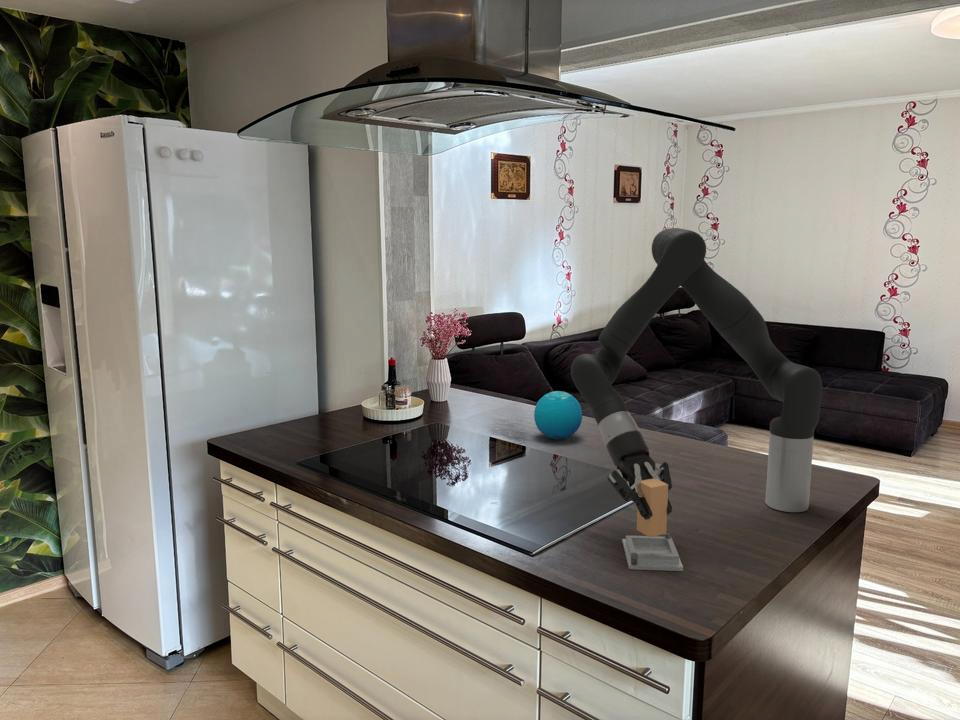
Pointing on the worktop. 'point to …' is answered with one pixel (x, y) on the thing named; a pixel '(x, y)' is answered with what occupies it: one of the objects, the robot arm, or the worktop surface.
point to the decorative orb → (558, 415)
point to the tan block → (654, 508)
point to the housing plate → (651, 553)
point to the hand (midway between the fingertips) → (658, 515)
